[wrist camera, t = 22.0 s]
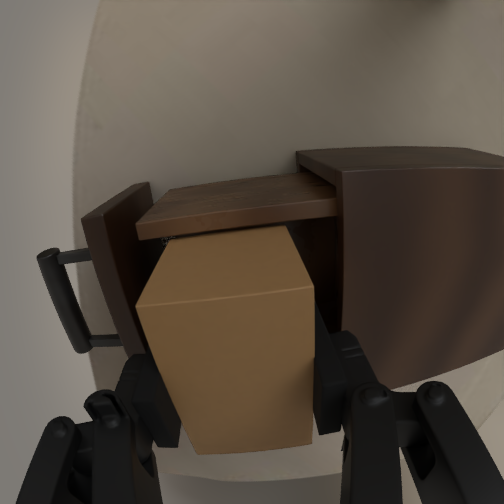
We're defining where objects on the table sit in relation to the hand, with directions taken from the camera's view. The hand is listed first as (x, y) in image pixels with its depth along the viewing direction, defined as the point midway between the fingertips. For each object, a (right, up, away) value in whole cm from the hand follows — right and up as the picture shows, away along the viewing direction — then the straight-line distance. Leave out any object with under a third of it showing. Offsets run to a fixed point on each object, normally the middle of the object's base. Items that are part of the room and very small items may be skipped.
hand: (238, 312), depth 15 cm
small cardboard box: (0, 0, 0) cm, 0 cm away
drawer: (-3, +2, +7) cm, 8 cm away
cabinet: (+11, +5, +8) cm, 15 cm away
